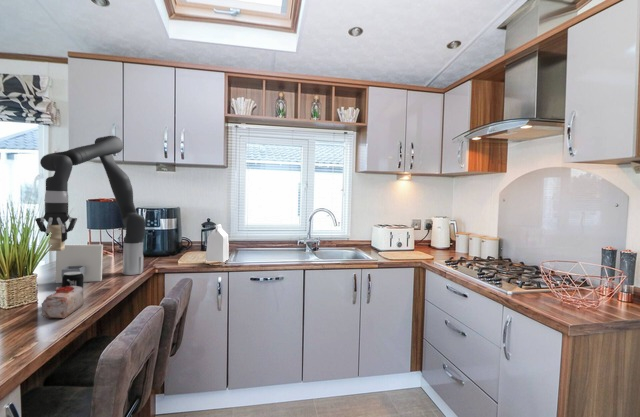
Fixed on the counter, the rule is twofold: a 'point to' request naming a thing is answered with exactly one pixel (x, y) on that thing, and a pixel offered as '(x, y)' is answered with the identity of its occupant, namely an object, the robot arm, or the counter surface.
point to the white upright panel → (80, 261)
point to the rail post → (56, 238)
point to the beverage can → (73, 279)
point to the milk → (218, 245)
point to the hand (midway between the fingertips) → (56, 241)
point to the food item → (63, 302)
